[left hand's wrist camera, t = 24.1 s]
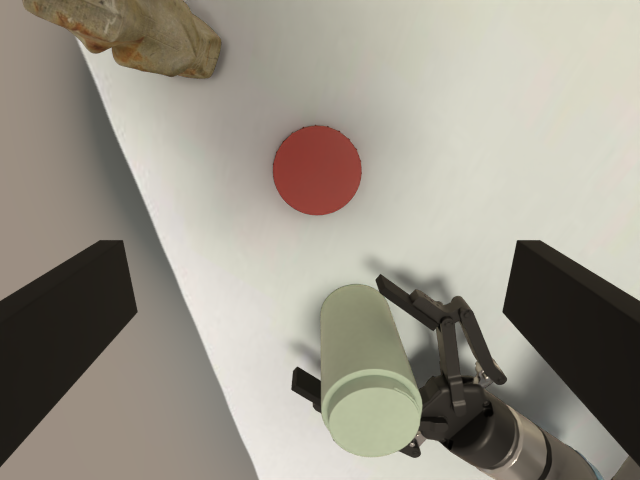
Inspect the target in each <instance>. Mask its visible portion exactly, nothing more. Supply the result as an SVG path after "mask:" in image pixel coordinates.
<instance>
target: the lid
mask: <svg viewBox="0 0 640 480" xmlns="http://www.w3.org/2000/svg"><path fill="white" fill-rule="evenodd" d="M276 153H277V154H276V156H275V160H274V163H273V177H274V182H275V185H276V188H277V190H278V192H279V194H280V195H281V197H282V198H283V199H284V200H285V202H286V203H287V204H289V205H290V206H291V207H293V208H294V209H296V210H298V211H300V212H302V213H305V214H310V215H325V214H329V213H332V212H335V211H337V210H339V209H341V208H342V207H344V206H345V205H346V204H347V203H348V202H349V201H350V200H351V199H352V198H353V196H354V195H355V193H356V191H357V189H358V187H359V184H360V180H361V174H362V172H361V160H360V158H359V155H358V153H357V149H356V148H355V147H354V145H353V144H352V143H351V142H350V139H349V138H346V137H345V136H344V135H343V134H342V133H340V131H337V130H335V129H332V128H329V127H328V126H327V127H325V126H316V125H315V126H309V127H305V128H304V127H303V128H302V129H300V130H298V131H296V132H294V133H291V135H290V136H289V137H288V138H287V139H286V140H285V141H283V143H282V145H281V146H280V148H279V149H278V151H277V152H276Z"/></svg>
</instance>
